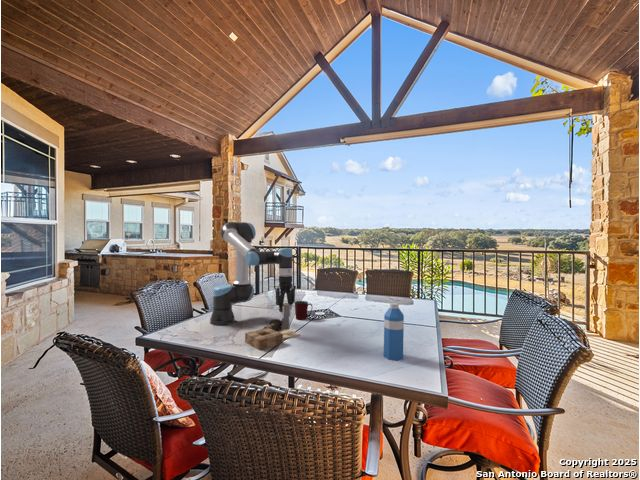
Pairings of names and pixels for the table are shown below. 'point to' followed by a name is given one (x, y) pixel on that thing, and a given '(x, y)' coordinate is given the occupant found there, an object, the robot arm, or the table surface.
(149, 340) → the table surface
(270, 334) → the socket block
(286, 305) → the plug
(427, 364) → the table surface
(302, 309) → the mug
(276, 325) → the brown lumpy club
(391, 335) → the water bottle
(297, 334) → the light brown wooden board
